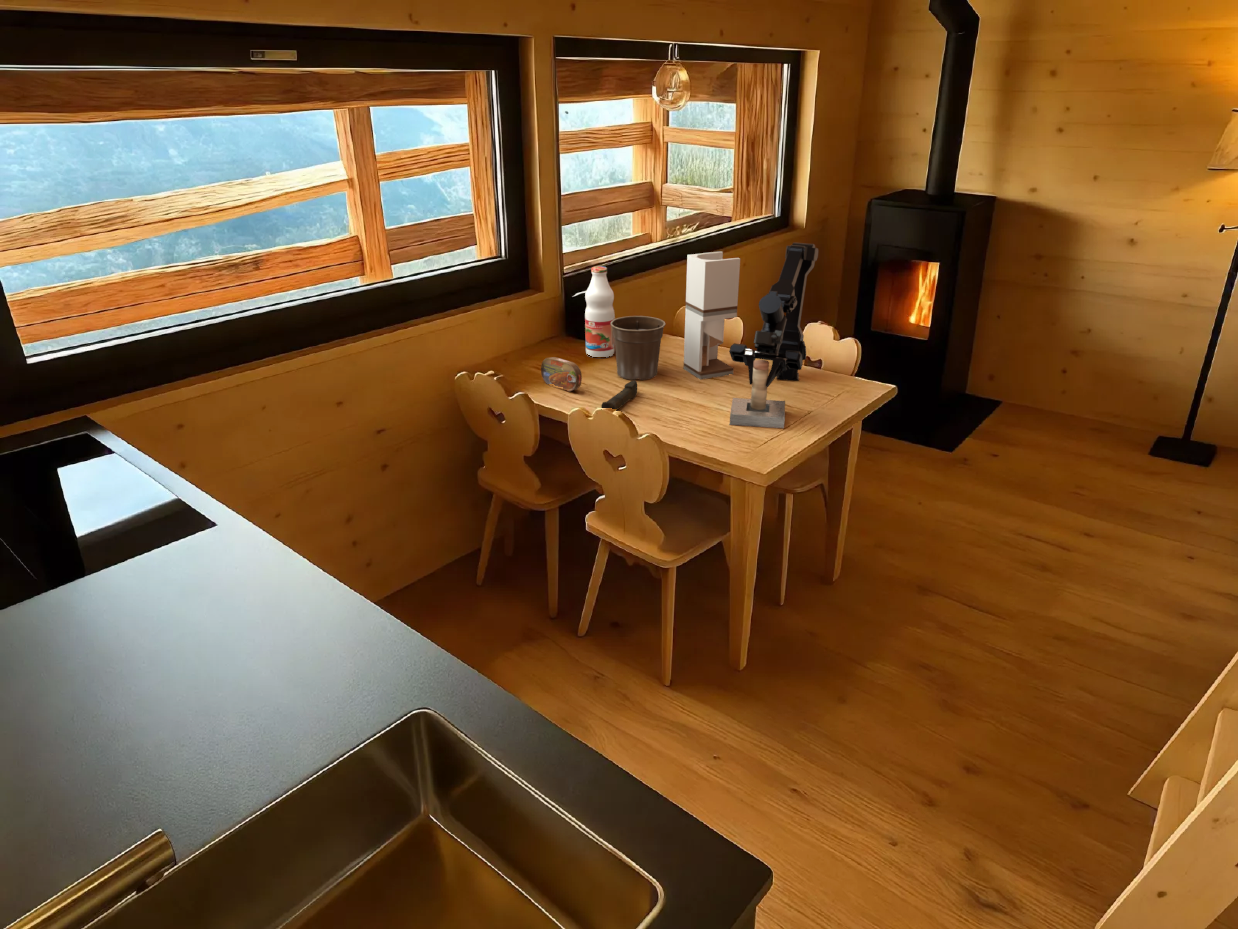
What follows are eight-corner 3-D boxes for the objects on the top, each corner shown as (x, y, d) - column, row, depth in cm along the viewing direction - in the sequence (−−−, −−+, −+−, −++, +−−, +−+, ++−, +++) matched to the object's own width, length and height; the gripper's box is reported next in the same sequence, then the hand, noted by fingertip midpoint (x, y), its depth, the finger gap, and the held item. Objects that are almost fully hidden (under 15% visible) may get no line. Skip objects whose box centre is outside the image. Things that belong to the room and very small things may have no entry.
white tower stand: (700, 379, 252) (705, 261, 237) (683, 368, 261) (687, 254, 246) (733, 374, 257) (740, 258, 241) (715, 363, 265) (721, 251, 250)
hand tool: (613, 417, 226) (613, 401, 224) (600, 414, 228) (600, 398, 226) (645, 395, 241) (645, 380, 239) (633, 393, 243) (633, 377, 241)
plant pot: (630, 362, 267) (630, 312, 260) (674, 371, 259) (675, 320, 252) (600, 376, 255) (599, 324, 248) (645, 387, 247) (645, 333, 240)
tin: (540, 382, 250) (539, 355, 247) (548, 379, 252) (547, 352, 249) (576, 394, 241) (575, 366, 237) (583, 392, 243) (583, 364, 240)
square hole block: (732, 407, 232) (732, 397, 230) (783, 411, 229) (784, 401, 228) (729, 424, 221) (730, 414, 220) (783, 428, 219) (784, 417, 217)
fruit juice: (620, 353, 275) (620, 267, 263) (602, 360, 268) (601, 272, 256) (598, 347, 280) (597, 263, 268) (579, 354, 274) (577, 268, 262)
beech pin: (748, 404, 225) (751, 360, 220) (763, 403, 226) (766, 359, 221) (753, 410, 222) (756, 365, 216) (767, 409, 222) (771, 364, 217)
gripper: (733, 313, 220) (718, 366, 216) (804, 321, 214) (790, 376, 209) (740, 334, 230) (726, 385, 226) (808, 342, 224) (795, 395, 219)
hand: (758, 385), depth 220 cm, fingers closed on beech pin, 4 cm apart
